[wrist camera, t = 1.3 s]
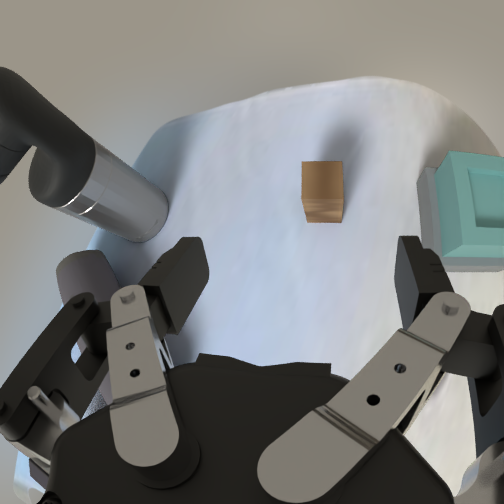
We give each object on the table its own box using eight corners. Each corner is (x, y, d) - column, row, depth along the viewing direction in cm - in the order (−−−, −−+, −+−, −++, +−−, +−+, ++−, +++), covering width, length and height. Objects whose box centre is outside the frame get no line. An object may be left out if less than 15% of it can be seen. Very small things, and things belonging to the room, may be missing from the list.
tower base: (422, 271, 36) (454, 254, 25) (416, 183, 38) (439, 141, 27) (497, 271, 33) (542, 256, 22) (488, 188, 35) (523, 153, 24)
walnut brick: (307, 222, 40) (301, 199, 32) (307, 190, 41) (301, 161, 33) (341, 222, 39) (343, 199, 31) (340, 191, 40) (342, 161, 32)
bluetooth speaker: (84, 286, 47) (40, 278, 38) (121, 254, 46) (78, 240, 37) (143, 413, 41) (102, 430, 31) (190, 389, 40) (152, 405, 30)
